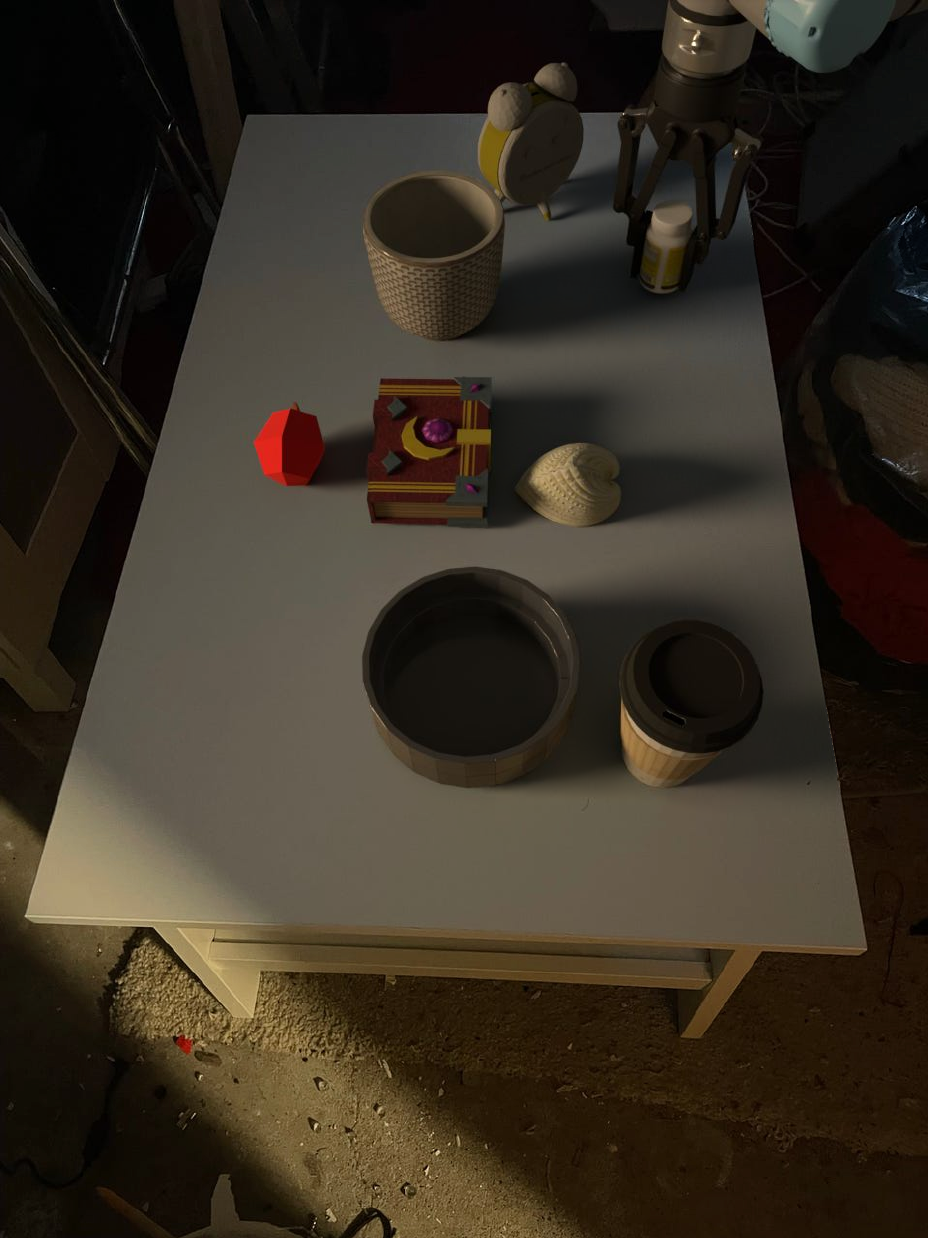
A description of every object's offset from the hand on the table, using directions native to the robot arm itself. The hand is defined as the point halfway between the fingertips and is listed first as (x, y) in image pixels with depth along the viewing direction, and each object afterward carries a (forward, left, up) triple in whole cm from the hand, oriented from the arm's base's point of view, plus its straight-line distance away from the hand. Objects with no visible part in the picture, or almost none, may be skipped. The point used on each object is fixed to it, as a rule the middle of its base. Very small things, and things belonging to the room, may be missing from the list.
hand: (660, 276), depth 97 cm
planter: (+20, +14, -2) cm, 25 cm away
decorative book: (+12, +32, -2) cm, 34 cm away
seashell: (-2, +30, -2) cm, 30 cm away
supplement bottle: (0, 0, -1) cm, 1 cm away
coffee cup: (-18, +51, -2) cm, 54 cm away
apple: (+24, +38, -2) cm, 45 cm away
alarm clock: (+18, -7, -2) cm, 20 cm away
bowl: (-2, +53, -2) cm, 53 cm away
